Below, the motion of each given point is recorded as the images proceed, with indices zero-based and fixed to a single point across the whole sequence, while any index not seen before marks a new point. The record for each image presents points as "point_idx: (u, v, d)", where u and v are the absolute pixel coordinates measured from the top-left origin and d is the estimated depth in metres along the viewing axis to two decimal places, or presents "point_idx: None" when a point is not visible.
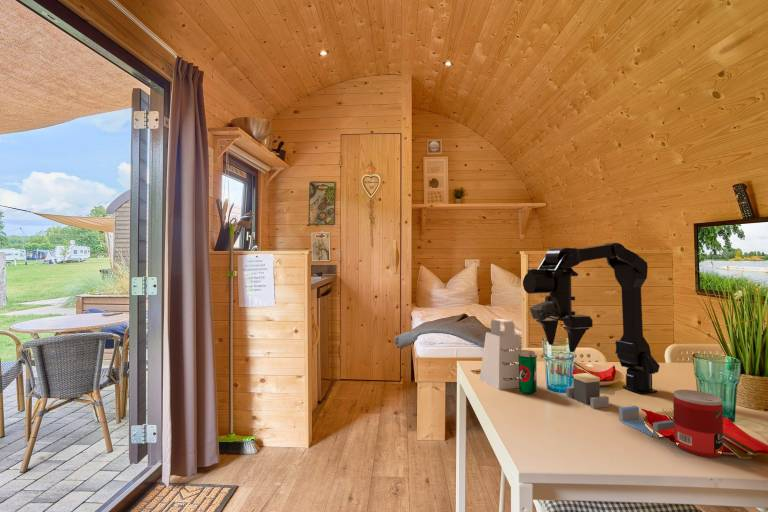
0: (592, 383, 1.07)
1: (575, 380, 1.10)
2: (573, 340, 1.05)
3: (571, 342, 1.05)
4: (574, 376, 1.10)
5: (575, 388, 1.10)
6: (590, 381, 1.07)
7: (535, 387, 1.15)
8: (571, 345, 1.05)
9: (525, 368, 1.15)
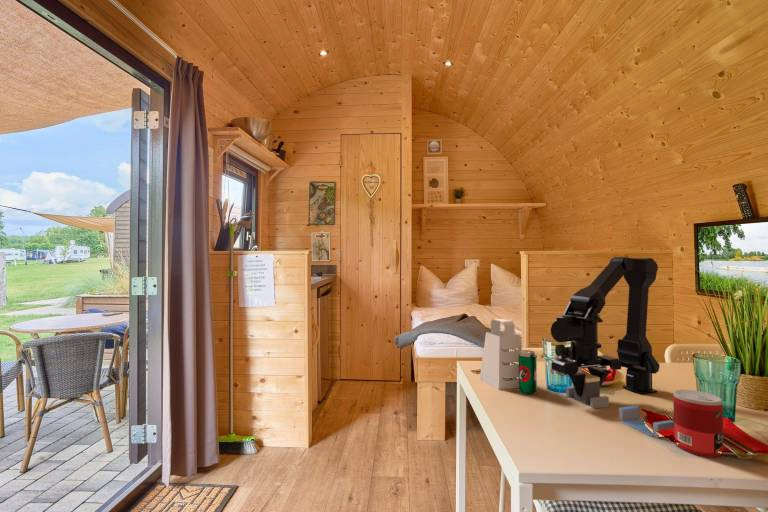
0: (592, 383, 1.07)
1: None
2: (574, 384, 1.09)
3: (574, 386, 1.09)
4: None
5: None
6: (590, 381, 1.07)
7: (535, 387, 1.15)
8: (575, 388, 1.09)
9: (525, 368, 1.15)
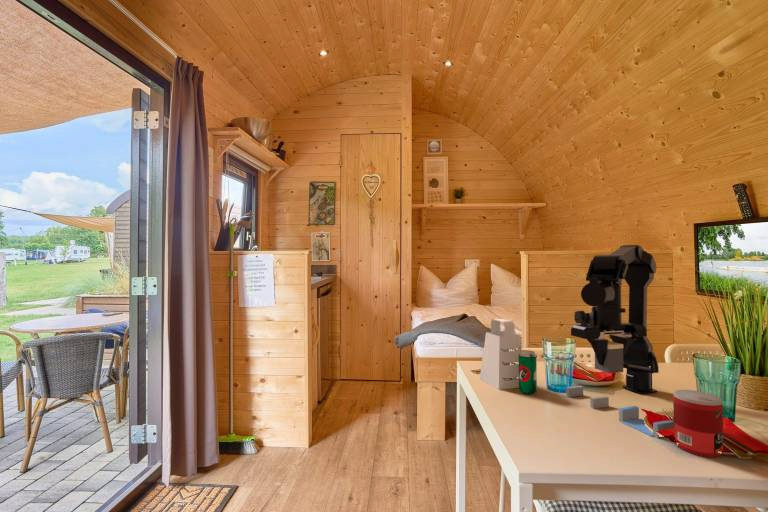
0: (615, 350, 0.99)
1: None
2: (596, 351, 1.01)
3: (596, 353, 1.01)
4: None
5: None
6: (613, 348, 0.99)
7: (535, 387, 1.15)
8: (596, 356, 1.01)
9: (525, 368, 1.15)
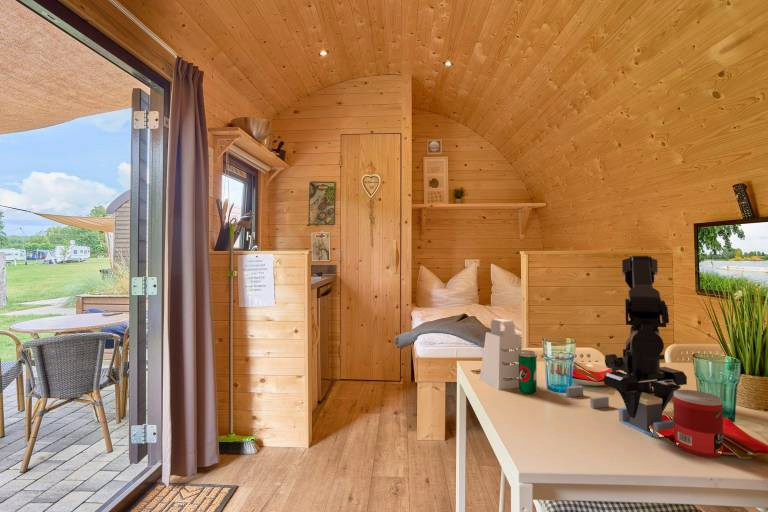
0: (654, 405, 0.90)
1: None
2: (626, 402, 0.91)
3: (626, 405, 0.91)
4: None
5: None
6: (651, 403, 0.90)
7: (535, 387, 1.15)
8: (627, 408, 0.91)
9: (525, 368, 1.15)
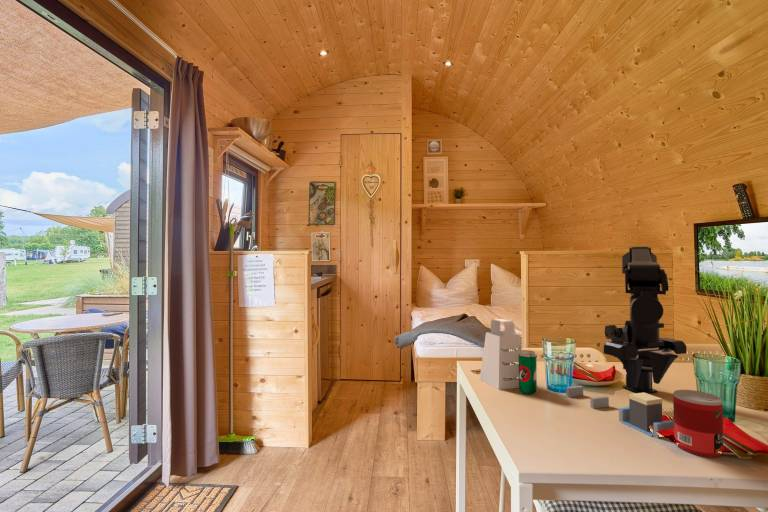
0: (654, 405, 0.90)
1: (631, 401, 0.93)
2: (628, 371, 0.91)
3: (628, 373, 0.92)
4: (630, 397, 0.93)
5: (631, 411, 0.93)
6: (651, 403, 0.90)
7: (535, 387, 1.15)
8: (628, 377, 0.91)
9: (525, 368, 1.15)
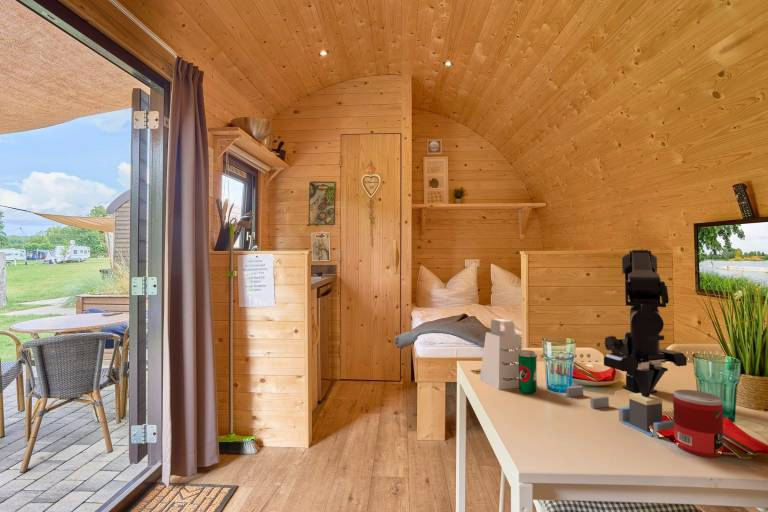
0: (654, 406, 0.90)
1: (631, 401, 0.93)
2: (639, 382, 0.92)
3: (638, 384, 0.92)
4: (630, 397, 0.93)
5: (631, 411, 0.93)
6: (651, 403, 0.90)
7: (535, 387, 1.15)
8: (639, 387, 0.92)
9: (525, 368, 1.15)
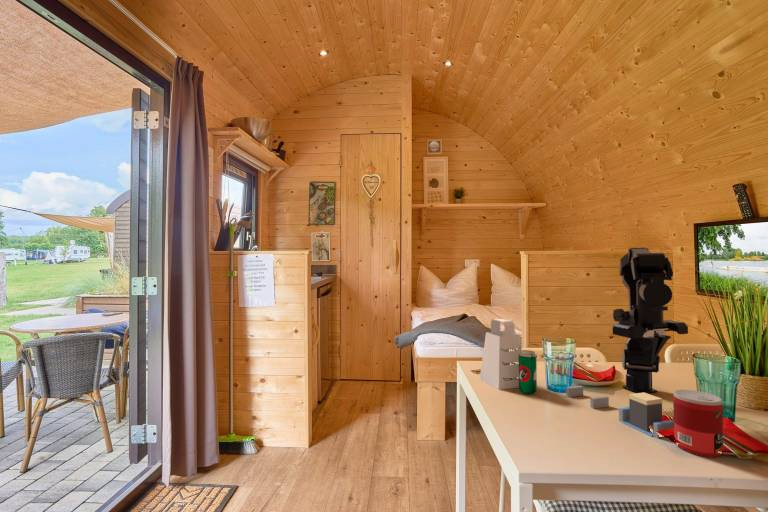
0: (654, 405, 0.90)
1: (631, 401, 0.93)
2: (644, 349, 1.01)
3: (644, 351, 1.02)
4: (630, 397, 0.93)
5: (631, 411, 0.93)
6: (651, 403, 0.90)
7: (535, 387, 1.15)
8: (645, 354, 1.02)
9: (525, 368, 1.15)
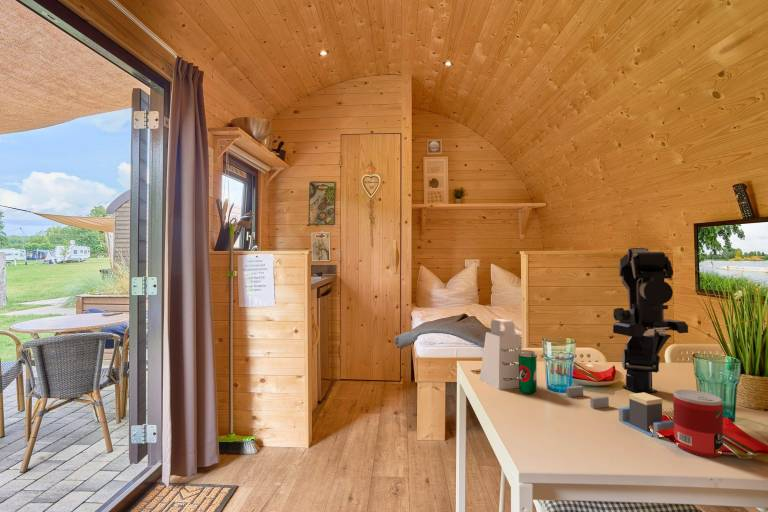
0: (654, 405, 0.90)
1: (631, 401, 0.93)
2: (645, 348, 1.01)
3: (644, 350, 1.02)
4: (630, 397, 0.93)
5: (631, 411, 0.93)
6: (651, 403, 0.90)
7: (535, 387, 1.15)
8: (645, 353, 1.02)
9: (525, 368, 1.15)
